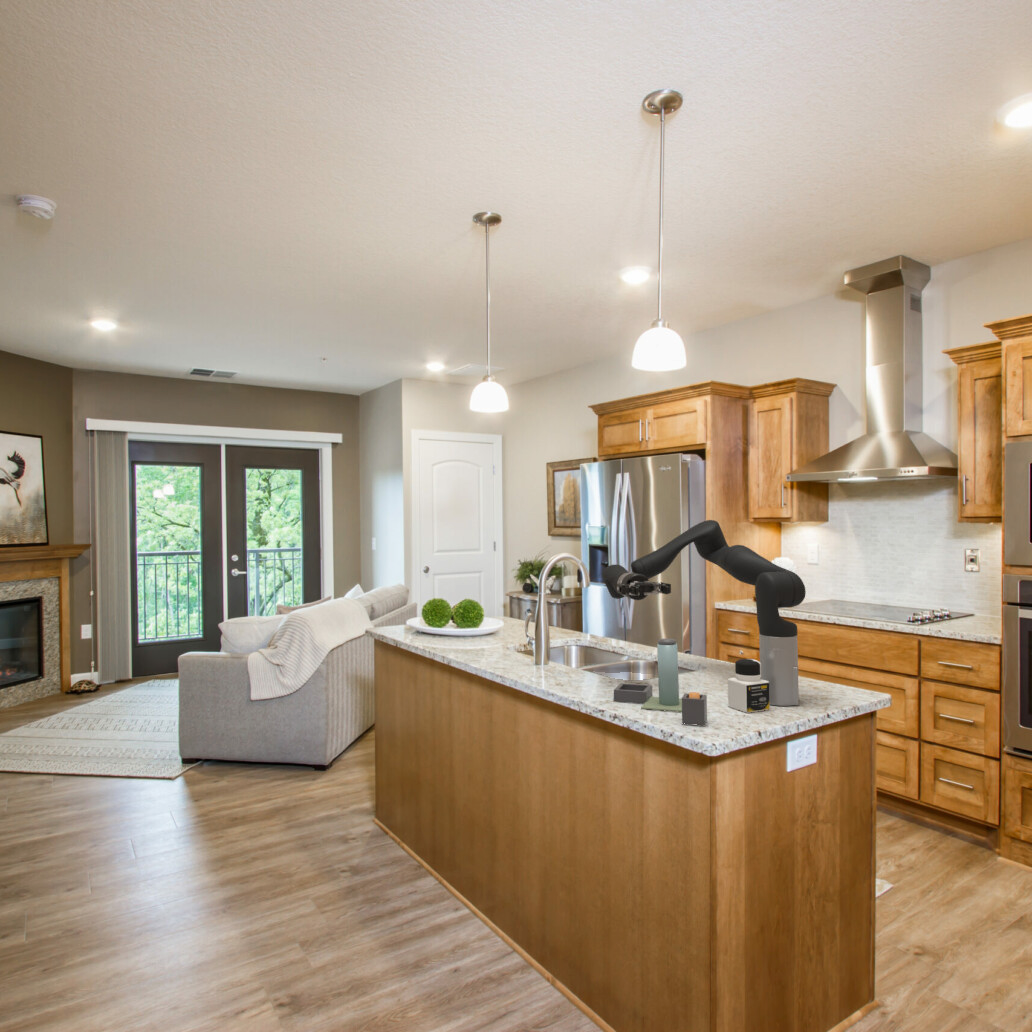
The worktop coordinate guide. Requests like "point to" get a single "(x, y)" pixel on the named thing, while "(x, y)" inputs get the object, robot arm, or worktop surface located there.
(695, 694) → the plunger
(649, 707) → the rubber mat
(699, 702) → the gray square socket block
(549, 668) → the worktop surface
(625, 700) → the cartridge socket
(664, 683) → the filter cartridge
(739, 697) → the medicine bottle
